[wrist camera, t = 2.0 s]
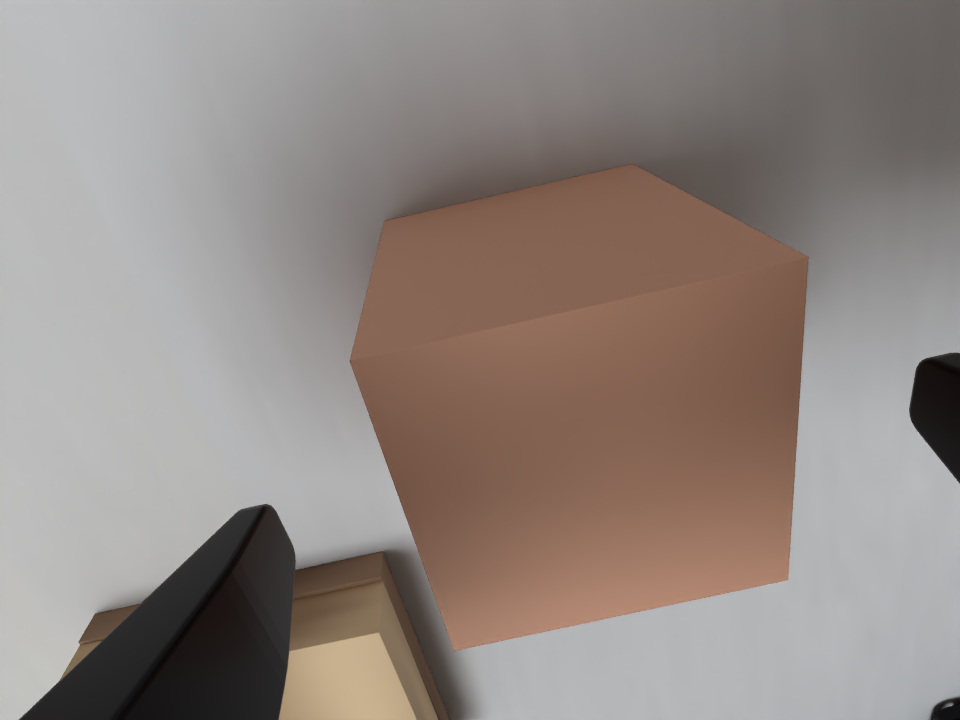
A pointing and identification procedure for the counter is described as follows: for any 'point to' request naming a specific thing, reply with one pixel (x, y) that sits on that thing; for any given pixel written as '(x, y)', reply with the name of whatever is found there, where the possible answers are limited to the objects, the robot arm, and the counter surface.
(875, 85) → the counter surface
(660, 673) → the counter surface
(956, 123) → the counter surface
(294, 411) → the counter surface
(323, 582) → the tower base
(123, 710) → the robot arm
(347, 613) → the tan square slab
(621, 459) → the block
